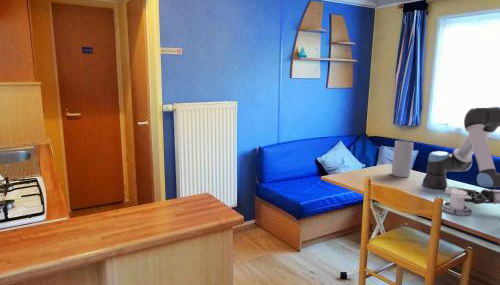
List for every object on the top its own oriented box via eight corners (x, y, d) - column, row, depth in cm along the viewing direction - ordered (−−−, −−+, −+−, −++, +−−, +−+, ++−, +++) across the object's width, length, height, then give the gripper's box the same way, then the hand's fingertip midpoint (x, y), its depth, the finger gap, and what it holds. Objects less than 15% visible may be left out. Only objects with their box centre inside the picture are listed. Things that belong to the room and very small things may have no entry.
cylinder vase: (413, 177, 263) (417, 144, 258) (398, 178, 260) (402, 144, 255) (402, 172, 275) (406, 140, 270) (388, 173, 272) (391, 140, 267)
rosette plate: (433, 208, 203) (433, 204, 202) (447, 203, 212) (447, 198, 212) (463, 218, 190) (464, 213, 190) (476, 212, 200) (477, 207, 199)
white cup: (464, 212, 194) (467, 195, 192) (448, 209, 198) (450, 192, 196) (464, 207, 201) (467, 191, 199) (448, 205, 205) (451, 188, 203)
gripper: (503, 211, 187) (462, 209, 188) (477, 195, 211) (440, 193, 213) (506, 198, 186) (464, 196, 187) (479, 183, 210) (442, 181, 211)
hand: (451, 194), depth 200 cm, fingers open, 13 cm apart
